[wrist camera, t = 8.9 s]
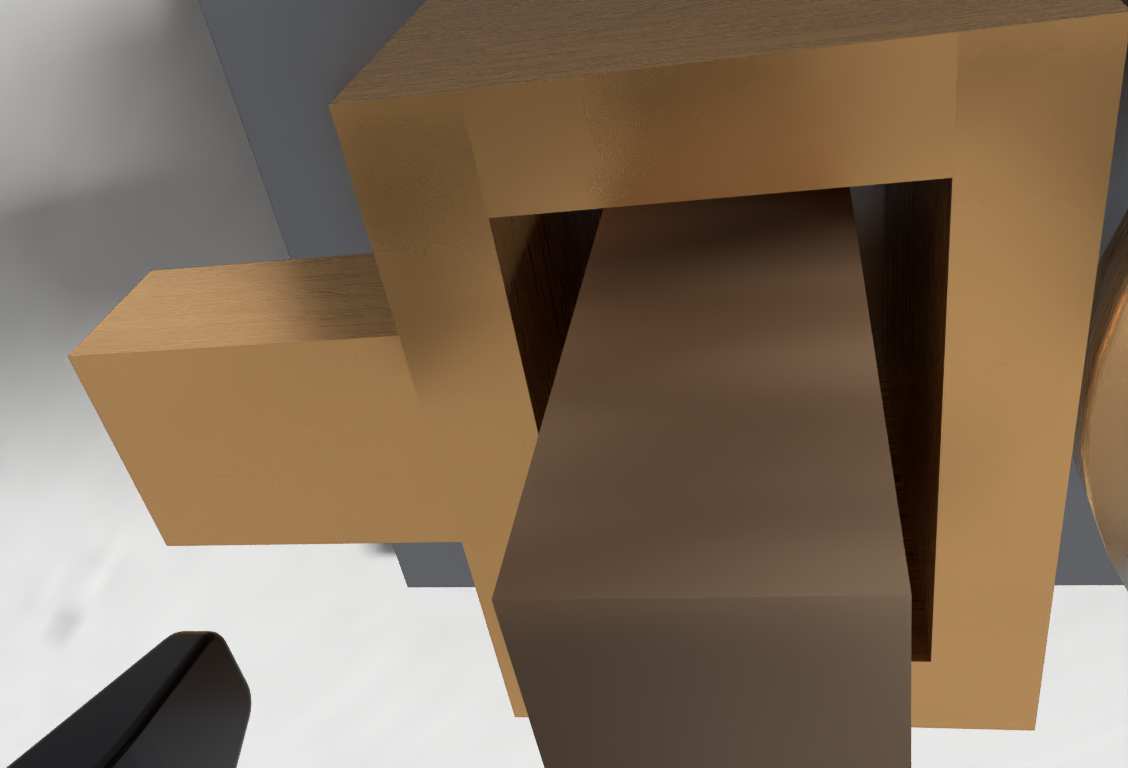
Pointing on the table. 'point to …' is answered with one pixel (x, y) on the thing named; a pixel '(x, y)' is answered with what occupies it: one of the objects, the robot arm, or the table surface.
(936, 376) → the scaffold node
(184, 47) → the table surface
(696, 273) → the wedge
